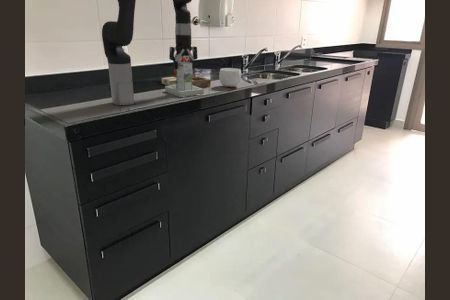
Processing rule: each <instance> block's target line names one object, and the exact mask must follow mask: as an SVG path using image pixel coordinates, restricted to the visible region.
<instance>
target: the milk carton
mask: <svg viewBox="0 0 450 300" xmlns="http://www.w3.org/2000/svg"><path fill="white" fill-rule="evenodd" d="M177 62H178V63H179V62H189V63H190V59H189V57H188V56H181V57H180V58H179V59H178V61H177ZM193 70H194V69H192V77H195V76H194V72H193ZM174 77H176V69H175V68H174Z"/></svg>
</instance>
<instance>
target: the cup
mask: <svg viewBox="0 0 450 300" xmlns="http://www.w3.org/2000/svg"><path fill="white" fill-rule="evenodd" d="M218 73H219V75H218V78H219V79H218V80H219V82H220V85H222V86H224V88H226V87H234V88H235V87H236V86H238V85H240V83H241V81H242V70H241V69H240V68H237V67H236V68H235V67H225V68H224V67H223V68H220V70H219V72H218Z"/></svg>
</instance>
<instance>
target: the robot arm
mask: <svg viewBox="0 0 450 300" xmlns="http://www.w3.org/2000/svg"><path fill="white" fill-rule="evenodd" d="M192 1H193V0H172V3H173V10H174V13H175V15H174V17H175V28H174V29H175V30H174V32H175V33H174V34H175V39H174V41H175V46H174V47H173V46H169V60H170V61H172V63H173V64H172V65H173V69H174V70H175V69H176V70H177V69H178V62H177V61H178V59H179V58H180V57H181V56H188V57H189V59H190V63H192V70H194V67H195V66H194V65H195V60H197V59H198V47H197V46H192V25H191V23H192V22H191V21H192V20H191V19H192V17H191V11H190V10H189V9H188V6H187V4H189V3H191V2H192ZM117 2H118V3H117V4H118V16H117V21H113V20H112V21H110V20H109V21H106V22H105V23H103V26H102V28H101V39H102V45H103V51H104V52H103V53H104V54H105V57H106V59H107V65H108V67H107V68H108V75H109V85H110V94H111V101H112V105H115V106H121V105H123V106H129V105H134V104H135V95H134V94H135V93H134V84H133V71H132V60H131V56H130V55H129V54H128V53H126V52H125V51H124V49H123V47H128V46H129V45H130V44H131V43H132V40H133V37H134V29H135V27H134V26H135V25H134V23H135V22H134V21H135V9H136V2H137V0H117ZM191 51H192V53H191ZM175 52H176V53H175Z"/></svg>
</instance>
